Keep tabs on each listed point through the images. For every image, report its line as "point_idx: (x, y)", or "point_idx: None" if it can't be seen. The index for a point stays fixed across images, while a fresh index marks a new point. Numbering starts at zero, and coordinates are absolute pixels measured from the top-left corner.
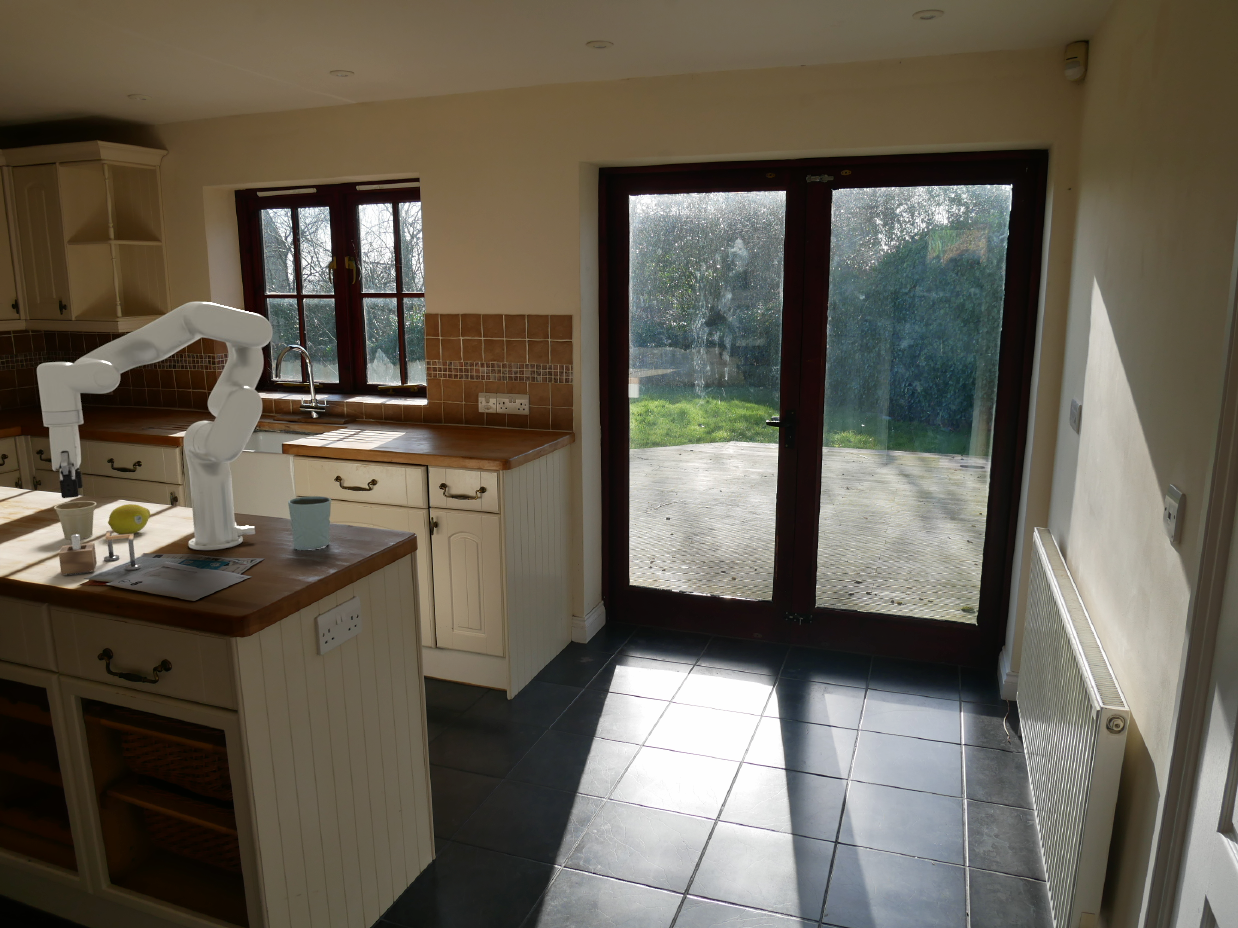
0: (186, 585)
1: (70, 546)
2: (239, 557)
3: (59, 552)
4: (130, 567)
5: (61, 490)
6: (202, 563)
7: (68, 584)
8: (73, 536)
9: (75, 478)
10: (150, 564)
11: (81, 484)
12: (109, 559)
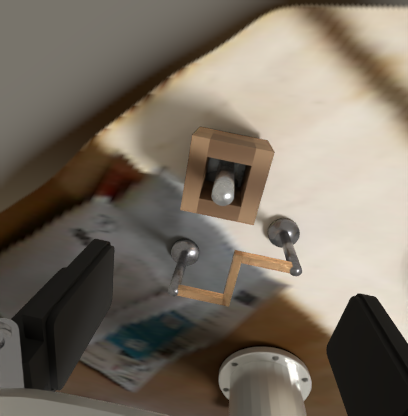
0: (38, 290)
1: (253, 170)
2: (156, 374)
3: (200, 137)
4: (174, 248)
5: (72, 264)
6: (151, 333)
7: (134, 133)
8: (213, 189)
9: (358, 389)
10: (195, 277)
11: (332, 366)
12: (269, 228)
